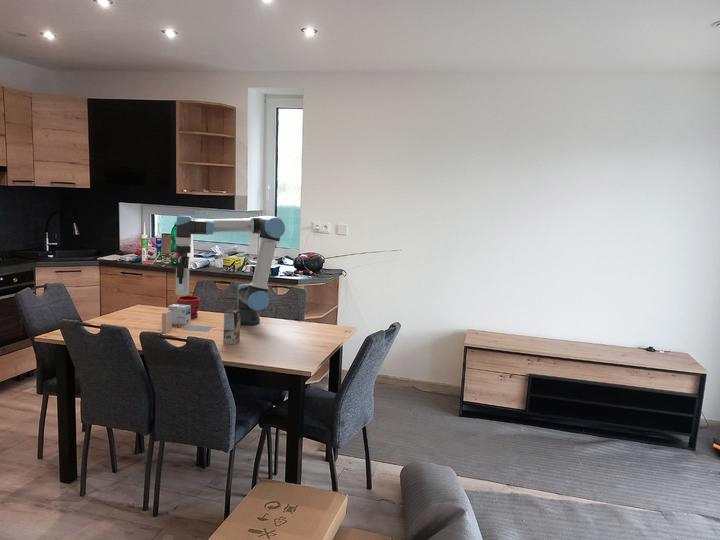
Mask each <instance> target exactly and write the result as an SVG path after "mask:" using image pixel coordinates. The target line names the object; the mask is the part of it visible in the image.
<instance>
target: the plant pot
mask: <svg viewBox="0 0 720 540" xmlns="http://www.w3.org/2000/svg"><path fill="white" fill-rule="evenodd" d="M200 300H201V299H200V297H199V296H196V295H195V296H194V295H187V296H186V295H179V296H178V297H177V299H176V302H177V303H176V304H178V305H191V312H190V319H194V318H196V317H198V316H199V313H198V311H199V308H200V303H201V301H200Z"/></svg>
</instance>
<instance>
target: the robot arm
mask: <svg viewBox="0 0 720 540" xmlns="http://www.w3.org/2000/svg"><path fill="white" fill-rule="evenodd" d="M175 222H176V223H175V230H176V231H175V233H176V234H175V238H174V240H175V244H176V245H175V253H177V254H178V257H177V258H176V268H177V278H178V290H184V278H183V276H184V268H188V269H189V267H190V266H189V265H190V264H189V263H190V256H188V254H191V251H192V250H191V249H192V247H191V245H192V235H203V236H204V235H205V236H208V235H213V234H214V233H249V234H251V235H252V234H253V235H255V234H256V235H259V237H258V238H259V241H260V245H259V249H258V254H257V258H256V262H255V267H254V270H253V271H254V272H253V276H252V281H251V282H249V283H245V284H243V283H242V284H238V286H237V309H236V310H241V314H240V325H241V324H246V325H245V326H250V325H249V324H254V325H258V324H260V323H259V322H261V318H260V314H259V312H258V311H263V310H265V308H267V306H268V305H269V302H270V297H269V289H270V288H269V287H268V282H269V279H270V278H269V277H270V273H271V269H272V265H273V264H272V263H273V259H274V254H275V250H276V245H277V244H279V242H280V240H281V237H282V236H283V235H284V234H285V231H286V225H285V222H284V221H283V220H282V219H281V218H280V217H278V216H271V215H262V216H261V215H260V216H250V217H249V218H208V219H206V218H201V219H200V218H199V219H198V218H192V217H191V216H189V215H178V216H177V217H176V221H175ZM257 323H258V324H257Z"/></svg>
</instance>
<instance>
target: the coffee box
mask: <svg viewBox="0 0 720 540" xmlns="http://www.w3.org/2000/svg"><path fill="white" fill-rule="evenodd" d="M240 314H241V310H237V309H227V310H226V311H225V312H223V339H222V340H223V344H227V345H236V344H237V343H239V341H240V337H241V335H240V334H241V324H240Z"/></svg>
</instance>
